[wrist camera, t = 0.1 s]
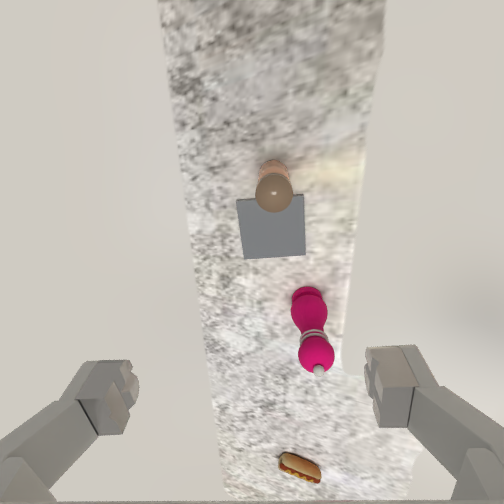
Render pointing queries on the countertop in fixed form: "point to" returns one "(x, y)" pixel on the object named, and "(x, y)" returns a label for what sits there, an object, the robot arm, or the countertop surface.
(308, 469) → the food
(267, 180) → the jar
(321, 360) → the pepper mill
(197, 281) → the countertop surface
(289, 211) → the pad
